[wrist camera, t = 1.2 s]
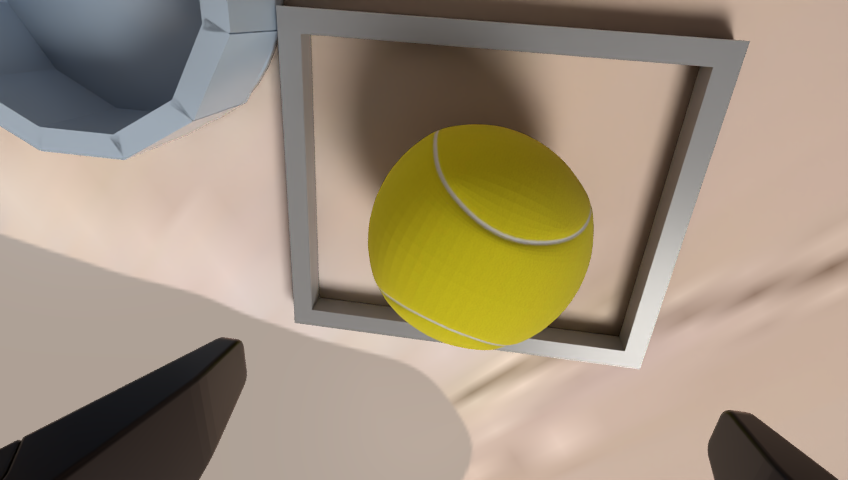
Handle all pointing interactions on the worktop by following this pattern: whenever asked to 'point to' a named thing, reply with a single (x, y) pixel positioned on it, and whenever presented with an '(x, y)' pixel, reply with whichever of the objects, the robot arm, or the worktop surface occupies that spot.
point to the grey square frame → (711, 54)
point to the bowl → (127, 69)
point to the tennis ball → (480, 236)
